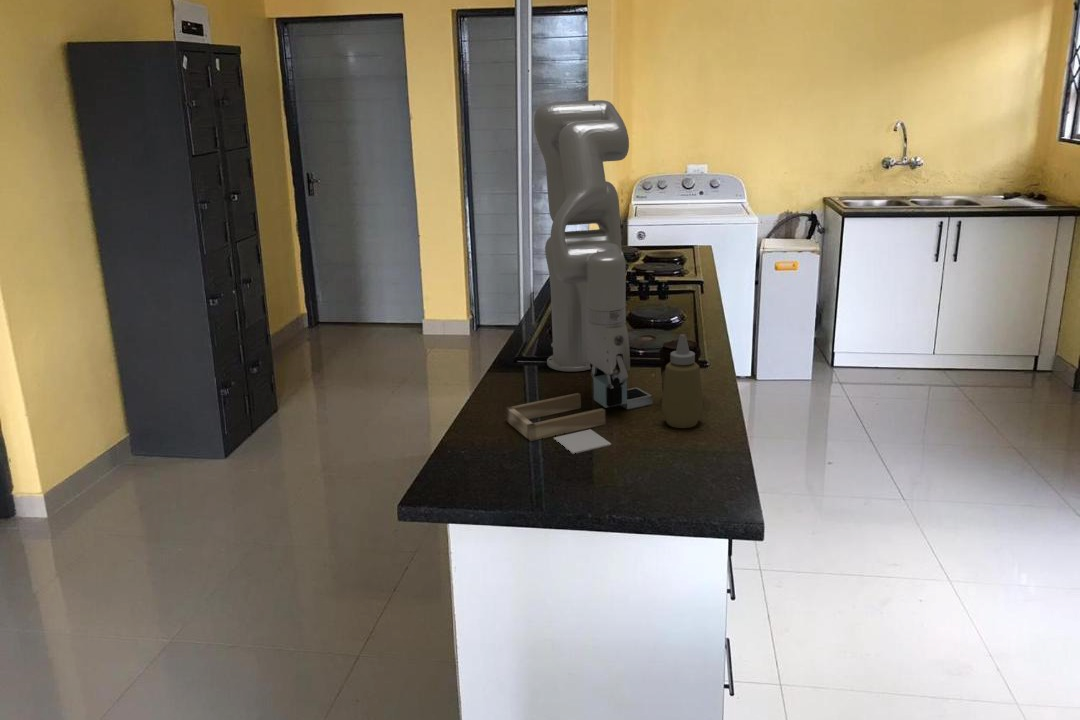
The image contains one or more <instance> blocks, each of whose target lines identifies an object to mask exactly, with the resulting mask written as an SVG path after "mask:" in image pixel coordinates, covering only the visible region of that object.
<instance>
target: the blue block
mask: <svg viewBox="0 0 1080 720" xmlns="http://www.w3.org/2000/svg"><path fill="white" fill-rule="evenodd" d="M612 378H613V380H614V379H615V378H617V375H613V376H612ZM593 384H594V396H593V400H594V401H595V402H597V403H598V404H599V405H601V406H603V407H604V408H605V409H606V408H611V407H612V406H610V407H609V406H607V388H608V387H609V385H608V379H607V373H606V374H605V375H600V376H595V377H592V385H593ZM627 389H628V379H627V380H626V381H625V382H624V383H623V386H622V403H621V404H625V403H627ZM621 404H619V405H621ZM619 405H618V406H619ZM614 407H617V405H615V406H614Z"/></svg>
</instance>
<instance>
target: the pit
mask: <svg viewBox="0 0 1080 720" xmlns="http://www.w3.org/2000/svg"><path fill="white" fill-rule="evenodd" d="M652 405H653V395H652V394H650V393H649V392H646V391H645V390H642V389H641V388H639V387H637V386H636V387H632V388H627V403H625V404H621V405H618V406H620V407H621V408H623V409H624V410H626V411H630V410H634V409H640V408H643V407H649V406H652Z"/></svg>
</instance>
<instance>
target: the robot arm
mask: <svg viewBox="0 0 1080 720" xmlns="http://www.w3.org/2000/svg"><path fill="white" fill-rule="evenodd" d="M533 126H534V127H533V128H534V133H535V139H536V142H537V145H538V148H539V150H540V152H541V154H542V158H543V161H544V164H545V169H546V170H545V174H546V185H547V186H546V187H547V201H548V204H547V205H548V211H549V216H550V219H551V221H552V223H551V228H550V236H549V237H548V239H547V240H546V242H545V247H544V249H545V250H544V252H545V258H546V259H545V260H546V264H547V270H548V276H549V277H548V278H549V284H550V302H551V303H550V306H551V309H550V310H551V326H552V327H551V329H552V330H551V333H552V335H551V336H552V342H551V344H550V346H551V348H552V354H551V355H550V356H549V357H548V358H547V359H546V364H547V366H548V368H550V369H552V370H555V371H560V372H583V371H588V370H591V373H590V374H591V375H590V376H591V377H592V378H593V377H595V376H600V375H605V374H607V379H608V385H609V387H608V388H607V406H609V407H608V408H611V407H616V406H619V404H621V403H622V386H623V383H624V382H625V381H626V380H627V381H628V379H629V374H628V372H629V371H630V369H631V357H630V356H631V355H630V354H631V353H630V342H629V341H630V340H629V339H630V338H629V332H628V328H627V324H626V322H627V321H626V320H627V319H626V318H627V317H626V313H627V312H626V309H627V308H626V306H627V305H626V299H627V298H626V293H627V292H626V289H627V288H626V285H627V284H626V283H627V282H626V281H627V280H626V279H627V278H626V274H627V272H626V258H625V256H624V255H625V254H624V251H623V250H622V234H621V233H622V231H621V215H620V213H621V211H620V201H619V200H620V199H619V195H618V192H617V189H616V187H615V186H614V184H612V183H611V182H610V181H607V180H606V176H605V175H606V174H605V168H604V167H605V166H604V162H606V163H607V162H618V161H622V160H624V159H625V158H626V157H627V156H628V154H629V148H630V141H629V139H630V138H629V133H628V129H627V127H626V126H627V125H626V124H625V122H624V120H623V118H622V117H621V115H620V113H619V111H617V109H616V108H615V106H614V105H613V104H612V102H610V101H608V100H602V99H601V100H600V99H596V100H575V101H574V100H568V101H557V102H556V101H555V102H550V103H545V104H543V105H541V106H539V107H538V108H537V109H536V111H535V113H534V117H533ZM591 224H595V225H597V226H598V228H599V229H588V230H587V229H586V230H585V229H584V230H582V229H581V230H568V231H566V227H567V226H576V225H577V226H578V225H579V226H580V225H591ZM615 369H616V370H615ZM613 375H617V378H615V379H614V380H613V378H612V376H613ZM592 396H593V397H594V384H593V383H592ZM615 405H616V406H615ZM610 406H611V407H610Z"/></svg>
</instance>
